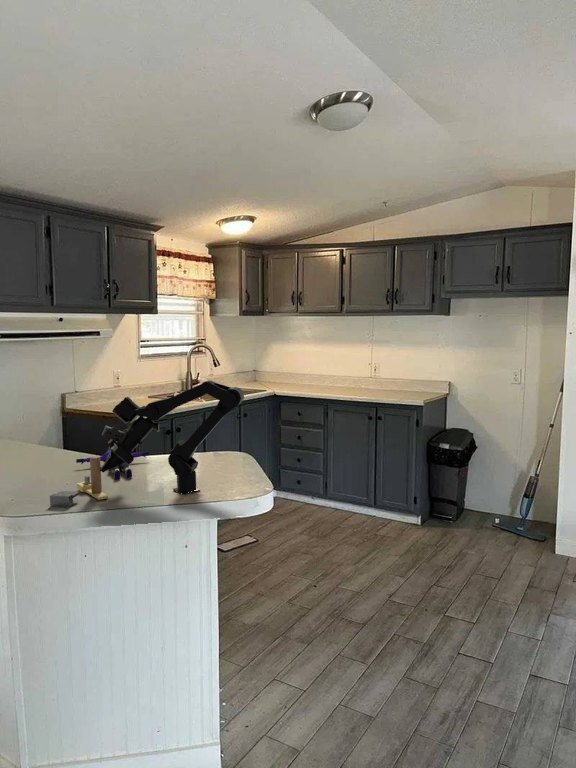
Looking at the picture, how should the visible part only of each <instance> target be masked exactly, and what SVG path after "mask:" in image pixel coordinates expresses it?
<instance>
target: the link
mask: <svg viewBox="0 0 576 768" xmlns="http://www.w3.org/2000/svg"><path fill="white" fill-rule="evenodd" d="M89 458H90V462H89V465H90V467H89V468H90V484H88V485H85V481H83V482H82V481H81V482H77V483H76V489H77V490H78V491H79V492H80V493H84V492H86V493H87V494H89V495H91V497H93V498H95V499H97V500H98V501H100V500H105V499H109V495H108V494H106V493H105V492H103V491H102V489H103V488H102V471H101V468H102V465H101V461H100V456H91V457H89Z"/></svg>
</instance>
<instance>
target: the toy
mask: <svg viewBox="0 0 576 768" xmlns="http://www.w3.org/2000/svg"><path fill="white" fill-rule="evenodd" d="M132 454H133V456H134V459H135V458H140V457H144V458H147V456H150V451H146V452H145V451H144V452H133V453H132ZM108 455H109V449H108V450H107V451H106V453H103V454H102V455H101V456H99V457H100V462H103V463H105V461H106V459H107V457H108ZM75 462H76V463H77V464H79V463H80V465H82V464H84V463H90V457H86V458H77V459H76V460H75ZM109 470H110V471H111V473H114V474H113V476H114V480H115V481H117V480H120V479H121V471H122V472H125V476H126V479H132V478H133V471H132V469H131V468H130V467H129V464H128V463H127V462H125V463H123V464H120V465H118V466H116V467H114V468H112V469H109ZM120 470H121V471H120Z"/></svg>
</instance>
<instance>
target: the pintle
mask: <svg viewBox="0 0 576 768" xmlns="http://www.w3.org/2000/svg"><path fill="white" fill-rule="evenodd" d="M83 478H84V482H85V485H88V484H90V481H91V475H85V476H84V477H83ZM83 493H87V492H83Z"/></svg>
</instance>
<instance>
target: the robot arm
mask: <svg viewBox="0 0 576 768" xmlns="http://www.w3.org/2000/svg"><path fill="white" fill-rule="evenodd" d="M206 395H207V396H210V397H212V398H214V399H216V400H218V402H217V405H216V406H215V408H214V410H212V412H211V413H210V414H209V415H208V416H207V417H206V419H205V420H204V421H203V422H202V423H201V425H200V426H199V427H198V428H197V429H196V430H195V431H194V433H193V434H192V435H191V436H190V437H189V438H188V439H187V441H185V440H184V439H181V440H179V441H178V442H177V443H176V444H175V446H174V448H173V449H171V450H170V451H169V452H168V453H169V455H168V458H167V462H168V464H169V466H170V467H171V468H172V470H173V472H174V474H175V476H176V488H173V490H172V491H174V492H176V491H177V493H179V494H181V493H182V494H181V495H186V494H185V493H187V494H189V493H188V492H191V491H194V490H196V487H197V472H196V470H197V468H198V465H199V461H198V460H197V459H195V458H194V457H193V456H194V455H195V452H196V450H197V448H198V447H199V446H200V445H201V443H202V442H203V441H204V440H205V439H206V438H207V437H208V436H209V434H210V433H211V432H212V431H213V430H214V429H215V427H216V426H218V425H219V424H220V422H221V421H222V419H224V417H225V416H226V415H227V414H229V413H230V412H231V411H233V410H235V408H236V407H238V406H239V405H240V404H241V403H242V402H243V401H244V399H245V394H244V391H243V390H242V389H241V388H240V387H237V386H232V387H230V386H228V385H224V384H222V383H218V382H215V381H213V380H209V379H208V380H206V381H203V382H202V383H200V384H199V385H196V386H194V387H192V388H190V389H187V390H185V391H183V392H181V393H178V394H176V395H174V396H170V397H167V398H166V397H164V398H161V399H157V400H156V399H155V400H154V401H152V402H149V403H148V404H146V405H143V406H139V405H138V404H136V403H135V401H133V400H132V399H131V397H129V396H126V397H124V398H123V399H122V400H121V401H120V402H118V404H116V405H115V406H114V407H113V409H112V413H113V414H114V415H115V416H116V417H118V418H119V419H120V420H121V422H123V423H124V424H128V423H129V424H131V425H130V426H129V427H128V428H126V429H123V430H122V431H121V430H119V428H118V427H115V426H112V427H111V426H108V425H105V426H104V428H103V431H102V433H101V436H102V437H103V438H105V439H110V440H108V442H107V444H109V446H108V450H109V455H108V457H107V459H106V461H105V462H103V464H102V465H101V473H106V472H107V471H109V470H110V469H112V468H114V467H116V466H118V465H120V464H123V463H125V462H127V463H128V465H131V464H132V463H133V462H134V459H135V458H134V456H133V454H132V453H134V450H135V449H136V448H137V447H138V445H140V446H141V444H143V442H142V441H143V440H144V439H145V438H146V437H147V436H148V435H149V433H150V432H152V430H153V429H154V430H155V431H156V432H158V433H159V432H160V423H159V422H155V421H159V419H161V418H164V417H165V416H167V415H168V414H169V413H171V412H173V411H174V410H175V409H176V408H179V407H181V406H183V405H185V404H187V403H190V402H192V401H194V400H197V399H199V398H201V397H203V396H206Z"/></svg>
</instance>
